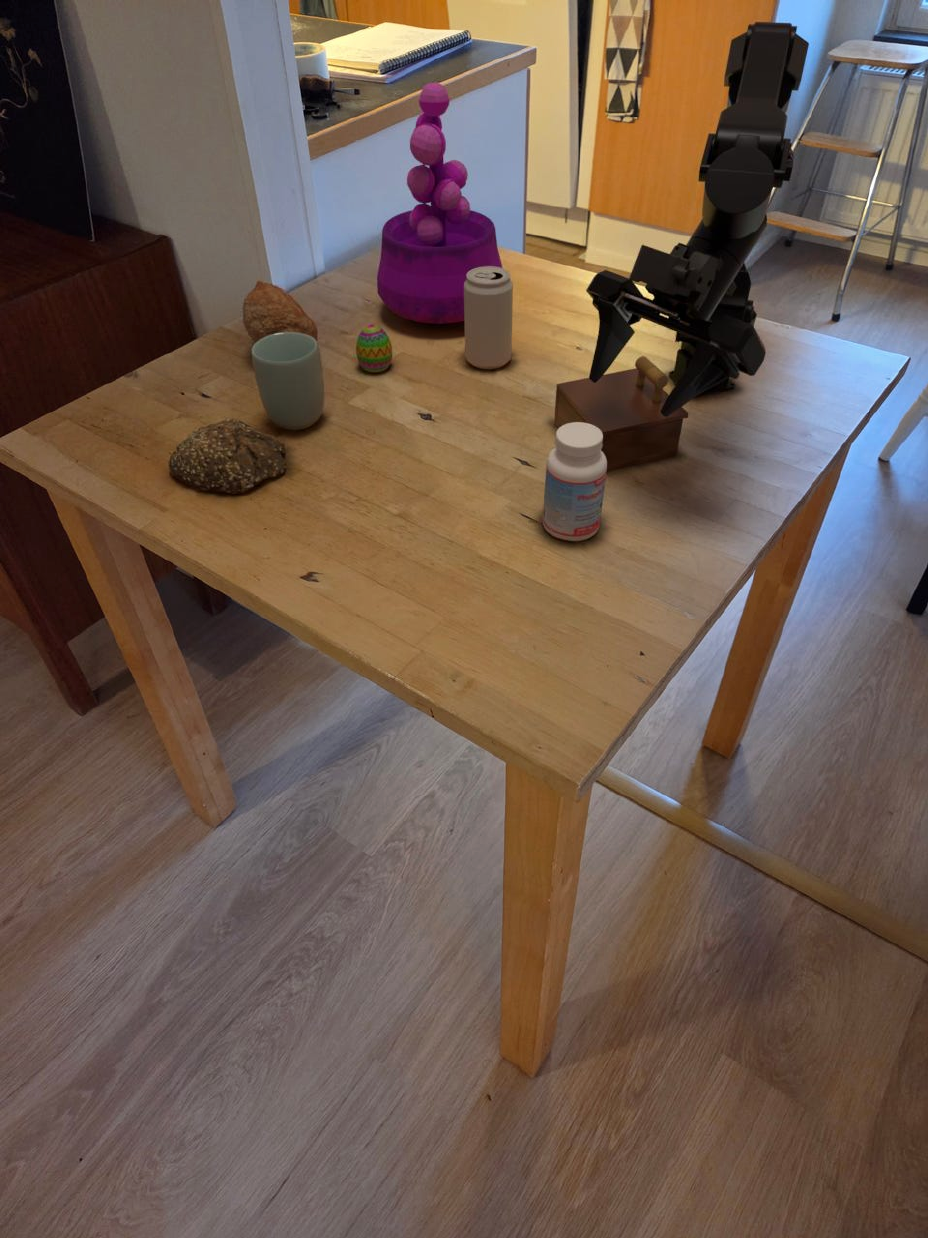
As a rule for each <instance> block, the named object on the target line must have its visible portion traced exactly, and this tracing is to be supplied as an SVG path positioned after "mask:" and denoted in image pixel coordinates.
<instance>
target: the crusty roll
mask: <svg viewBox="0 0 928 1238" xmlns="http://www.w3.org/2000/svg"><path fill="white" fill-rule="evenodd" d="M242 313H243V314H242V323H243V325H244V328H245V330H246V332H247V334H248V336H249V338H250V339H251V340H253V342H254V344H255V343H256V342H257V341H259V340H260V339H262V338H264V337H266V336H268V335H271V334H275V333H280V332H297V333H303V334H307V335H309V336H311V337H313V338H314V339H315V340H316V341H317V342H318V326H317V323H316V322H315V320H313V319H312V318H311V317H310V316H308V313H307V312H306V311H305V310H304V309H303V307H302V306H301V305H300V303H299V302H298V301H297V299H294V297H293V295H291V294H290V293H289V292H287V291H286V290H284V289H283V288H282V287H280V286H278V285H274V284H273V283H268V282H263V281H262V280H260V279H259V280H257V281H256V284H255V286H254V288H253V289H252V290H251V291H249V292H248V294H247V295H246V297H245V298H244V300H243V305H242Z"/></svg>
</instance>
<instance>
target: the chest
mask: <svg viewBox="0 0 928 1238" xmlns="http://www.w3.org/2000/svg"><path fill="white" fill-rule="evenodd" d="M554 403H555V404H554V415H553V416H554V420H553V424H554V426H555V427H556V428H557V430H558V429H559V428H560V427H561V426H563V425H565V424H568V423H573V422H582V423H587V422H586V421H585V420H584V419H583V418H582V417H581V415H580V414H579V413H578V412H577V411H576V410H575V409H574V408H573V406H572V405H571V404H570V403H569V402H568V401H567V400H566V399H565V397H564V396H563V395H562V394H561V393H560V392H559V391H558V390H557V388H555V402H554ZM683 423H684V419H680V420H675V421H671V422H666V423H662V424H657V425H653V426H648V427H643V428H639V429H634V430H630V431H625V432H621V433H616V434H611V435H607V436H603V442H602V444H603V446H602V449H601V451H602V452H603V453H604V455H605V457H606V460H607V472H610V471H613V470H617V469H622V468H626V467H631V466H636V465H639V464H643V463H649V462H652V461H656V460H657V461H658V460H661V459H665V458H669V457H674V456H677V454H678V450H679V444H680V438H681V434H682V428H683Z"/></svg>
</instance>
